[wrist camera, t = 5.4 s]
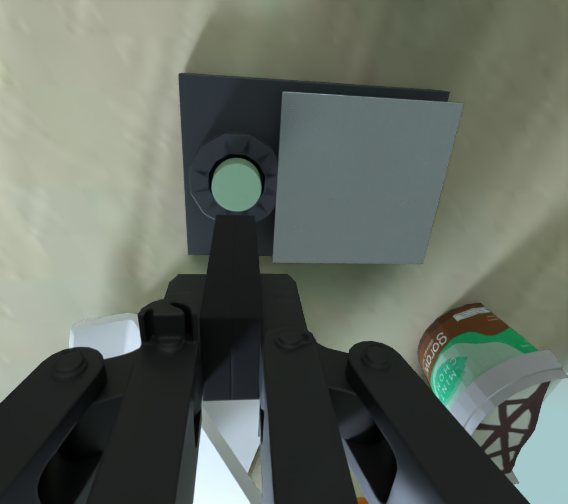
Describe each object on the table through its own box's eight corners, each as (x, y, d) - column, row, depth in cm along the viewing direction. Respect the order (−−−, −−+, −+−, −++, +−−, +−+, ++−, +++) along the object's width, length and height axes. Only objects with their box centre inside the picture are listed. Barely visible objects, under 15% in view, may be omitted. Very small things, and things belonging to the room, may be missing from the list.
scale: (181, 72, 23) (173, 73, 21) (440, 90, 26) (463, 93, 23) (190, 246, 29) (185, 265, 26) (403, 249, 31) (418, 267, 28)
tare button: (212, 156, 23) (211, 162, 22) (261, 158, 24) (262, 164, 22) (213, 202, 25) (211, 211, 23) (259, 203, 25) (260, 212, 24)
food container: (417, 291, 33) (482, 376, 24) (484, 288, 33) (572, 370, 25) (396, 394, 38) (443, 494, 29) (454, 390, 39) (517, 487, 30)
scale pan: (281, 90, 22) (282, 91, 21) (461, 102, 23) (464, 103, 23) (272, 260, 27) (272, 262, 26) (420, 261, 28) (422, 264, 28)
